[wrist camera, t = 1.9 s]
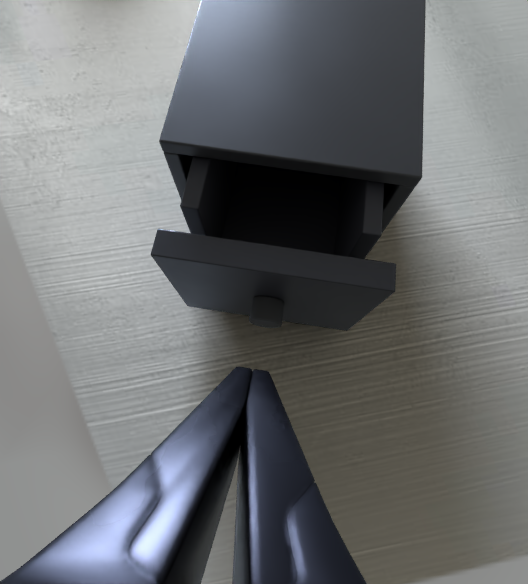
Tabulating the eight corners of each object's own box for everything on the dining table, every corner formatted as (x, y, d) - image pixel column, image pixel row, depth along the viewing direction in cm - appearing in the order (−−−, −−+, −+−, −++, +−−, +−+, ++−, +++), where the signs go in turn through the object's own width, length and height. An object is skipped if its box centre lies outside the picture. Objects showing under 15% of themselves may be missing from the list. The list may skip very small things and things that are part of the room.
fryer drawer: (345, 350, 21) (394, 321, 13) (182, 325, 21) (142, 283, 14) (359, 176, 24) (404, 78, 17) (221, 157, 24) (205, 51, 17)
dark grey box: (358, 265, 23) (422, 178, 14) (196, 241, 23) (158, 141, 15) (369, 121, 27) (426, -21, 18) (228, 102, 27) (214, -47, 18)
